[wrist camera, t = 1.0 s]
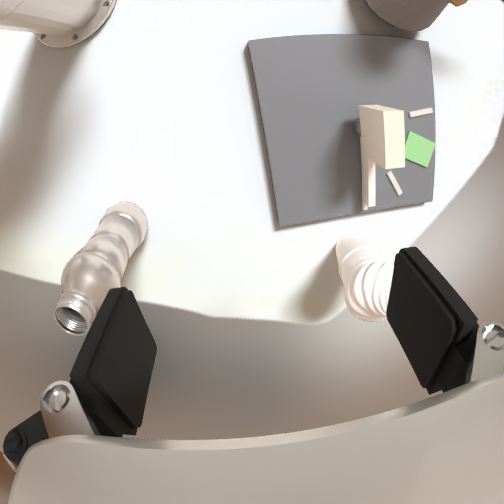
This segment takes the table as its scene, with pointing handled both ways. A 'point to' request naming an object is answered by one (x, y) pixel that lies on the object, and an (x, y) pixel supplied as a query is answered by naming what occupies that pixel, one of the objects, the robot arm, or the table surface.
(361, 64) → the plate
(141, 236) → the plastic bottle
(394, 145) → the peg head
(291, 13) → the table surface
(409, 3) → the coffee pot
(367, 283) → the soft serve ice cream cone
